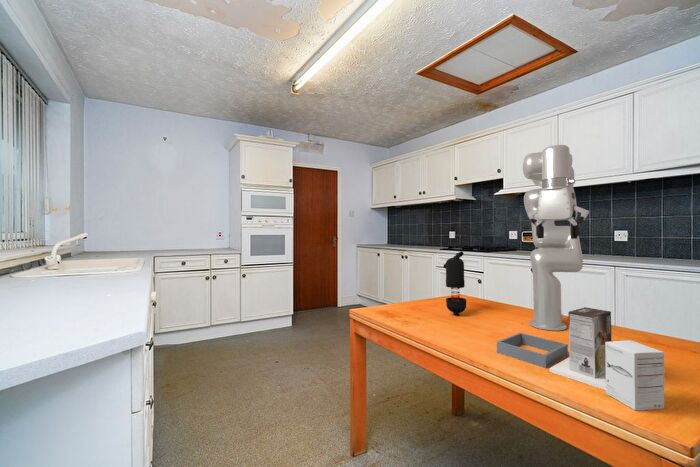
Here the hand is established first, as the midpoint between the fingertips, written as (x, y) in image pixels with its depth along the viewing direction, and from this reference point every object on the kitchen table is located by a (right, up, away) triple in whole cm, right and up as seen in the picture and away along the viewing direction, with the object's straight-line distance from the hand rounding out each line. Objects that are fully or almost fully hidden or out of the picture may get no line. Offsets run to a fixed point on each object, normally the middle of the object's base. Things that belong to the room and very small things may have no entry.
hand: (556, 238), depth 101 cm
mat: (-2, -36, -16) cm, 40 cm away
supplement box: (-2, -37, -30) cm, 47 cm away
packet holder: (-9, -37, -2) cm, 38 cm away
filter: (-18, -37, +46) cm, 61 cm away
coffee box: (-1, -36, -16) cm, 39 cm away
